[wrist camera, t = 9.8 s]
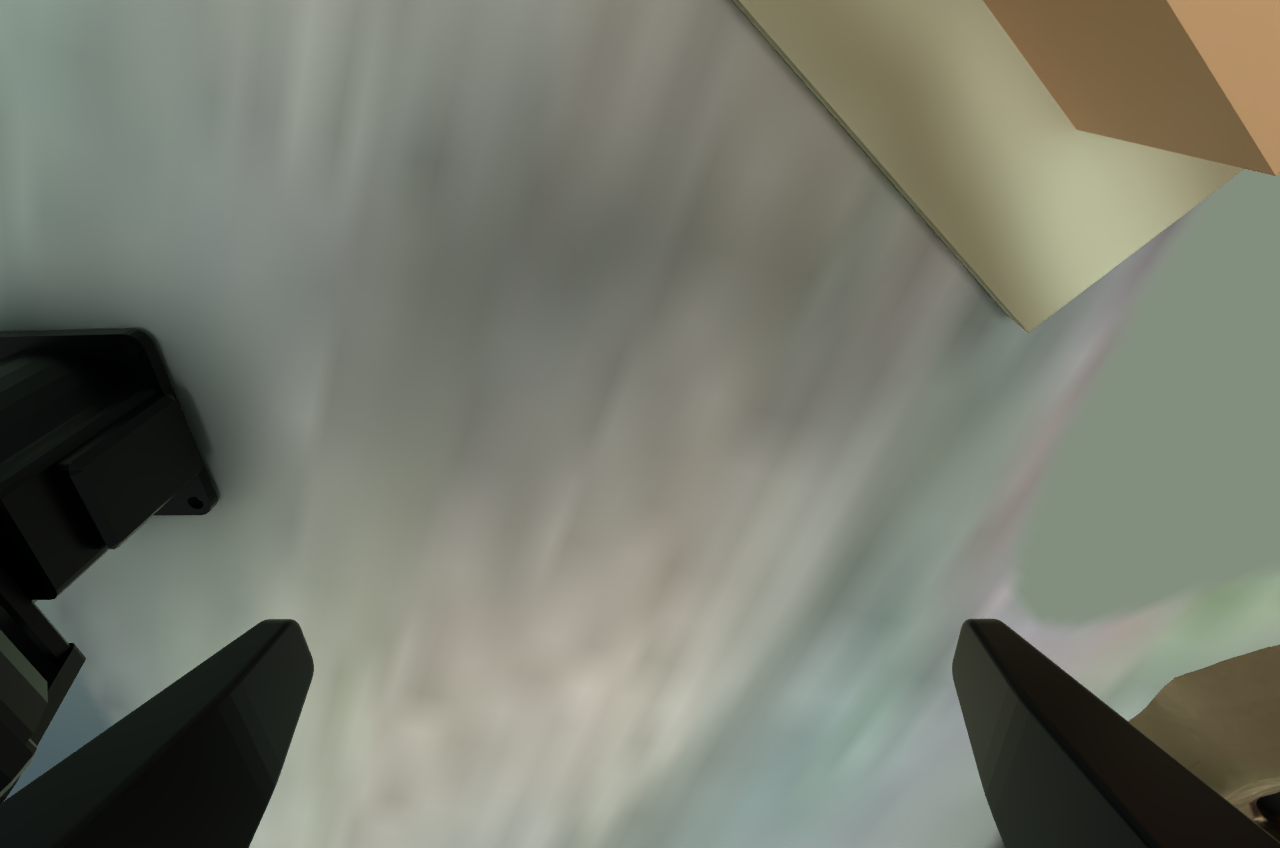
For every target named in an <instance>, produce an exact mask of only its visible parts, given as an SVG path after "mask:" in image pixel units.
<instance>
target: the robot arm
mask: <svg viewBox="0 0 1280 848" xmlns="http://www.w3.org/2000/svg"><path fill="white" fill-rule="evenodd" d="M130 343H131V344H133V345H134V346H135V347H136V349H137V350H138V352H137V351H135V350H134V349H132V347H131V346H130ZM196 497H197V498H199V499H200V500H201V501H200V500H198V499H197V498H196ZM217 501H218V499H217V495H216V492H215V490H214V488H213V485H212V483H211V480H210V478H209V475H208V473H207V471H206V468H205V466H204V463H203V461H202V459H201V456H200V454H199V451H198V449H197V447H196V444H195V442H194V439H193V437H192V434H191V432H190V430H189V427H188V425H187V422H186V420H185V418H184V415H183V413H182V410H181V408H180V405H179V403H178V401H177V398H176V396H175V393H174V391H173V389H172V386H171V384H170V381H169V379H168V376H167V374H166V372H165V369H164V367H163V364H162V362H161V360H160V357H159V355H158V352H157V350H156V347H155V345H154V343H153V342H152V340H151V338H150V337H148V336H147V335H146V334H145V333H143V332H141V331H139V330H135V329H110V330H69V331H27V332H0V848H249V846H250V843H251V841H252V839H253V837H254V834H255V832H256V830H257V828H258V826H259V823H260V821H261V819H262V817H263V814H264V812H265V810H266V808H267V805H268V803H269V801H270V798H271V796H272V794H273V791H274V789H275V787H276V784H277V781H278V778H279V776H280V773H281V770H282V768H283V765H284V762H285V759H286V756H287V753H288V750H289V747H290V744H291V741H292V738H293V735H294V732H295V729H296V726H297V723H298V720H299V717H300V714H301V711H302V708H303V705H304V702H305V699H306V696H307V693H308V690H309V687H310V684H311V681H312V677H313V672H314V664H313V659H312V656H311V653H310V651H309V648H308V646H307V643H306V640H305V638H304V635H303V633H302V630H301V627H300V625H299V624H298V623H297V622H296V621H295V620H292V619H268V620H264V621H262V622H260V623H259V624H257V625H256V626H254V627H253V628H251V629H250V630H248V631H247V632H246V633H244V634H243V635H241V636H240V637H238V638H237V639H236V640H234V641H233V642H231V643H230V644H228V645H227V646H226V647H224V648H223V649H221V650H220V651H218V652H217V653H216V654H214V655H213V656H211V657H210V658H208V659H207V660H206V661H204V662H203V663H201V664H200V665H198V666H197V667H196V668H194V669H193V670H191V671H190V672H188V673H187V674H186V675H184V676H183V677H181V678H180V679H178V680H177V681H176V682H174V683H173V684H171V685H170V686H168V687H167V688H166V689H164V690H163V691H161V692H160V693H158V694H157V695H156V696H154V697H153V698H151V699H150V700H148V701H147V702H146V703H144V704H143V705H141V706H140V707H138V708H137V709H136V710H134V711H133V712H131V713H130V714H128V715H127V716H126V717H124V718H123V719H121V720H120V721H118V722H117V723H116V724H114V725H113V726H111V727H110V728H108V729H107V730H106V731H104V732H103V733H101V734H100V735H99V736H97V737H96V738H94V739H93V740H91V741H90V742H88V743H87V744H86V745H84V746H83V747H81V748H80V749H78V750H77V751H76V752H74V753H73V754H71V755H70V756H68V757H67V758H66V759H64V760H63V761H61V762H60V763H58V764H57V765H56V766H54V767H53V768H51V769H50V770H49V771H47V772H46V773H44V774H43V775H41V776H40V777H38V778H37V779H36V780H34V781H33V782H31V783H30V784H28V785H27V786H25V787H24V788H23V789H21V790H20V791H18V792H17V793H15V794H14V795H13V796H11V797H10V798H8V799H7V800H5V799H6V797H7V795H8V794H9V793H10V791H11V790H12V788H13V787H14V785H15V784H16V782H17V781H18V779H19V777H20V775H21V774H22V772H23V771H24V770H25V769H26V768H27V766H28V765H29V764H30V763H31V760H32V758H33V756H34V754H35V752H36V749H37V745H38V744H39V742H40V740H41V738H42V736H43V734H44V733H45V731H46V729H47V727H48V726H49V724H50V722H51V720H52V718H53V717H54V715H55V713H56V711H57V710H58V708H59V706H60V704H61V703H62V701H63V699H64V697H65V695H66V694H67V692H68V690H69V688H70V687H71V685H72V683H73V681H74V679H75V678H76V676H77V674H78V672H79V670H80V669H81V667H82V665H83V663H84V662H85V659H86V658H85V656H84V655H83V654H82V653H81V652H80V650H79V649H78V648H77V647H76V646H75V644H74V643H68V642H67V641H66V640H65V639H64V638H63V637H62V635H61V634H60V633H59V632H58V631H57V629H56V628H55V627H54V626H53V625H52V624H51V622H50V621H49V620H48V619H47V618H46V616H45V615H44V614H43V613H42V612H41V610H40V609H39V608H38V607H37V606H36V605H35V602H36V601H37V600H51V599H55V598H56V597H57V596H59V595H60V594H61V593H62V592H63V591H64V590H65V589H66V588H67V587H68V586H69V585H71V584H72V583H73V582H74V581H75V580H76V579H77V578H78V577H79V576H80V575H82V574H83V573H84V572H85V571H86V570H87V569H88V568H89V567H90V566H91V565H92V564H94V563H95V562H96V561H97V560H98V559H99V558H100V557H101V556H102V555H103V554H105V553H106V552H107V551H108V550H109V549H116V548H118V547H119V546H120V545H121V544H122V543H124V542H125V541H126V540H127V539H128V538H129V537H130V536H131V535H132V534H133V533H134V532H135V531H137V530H138V529H139V528H140V527H141V526H142V525H143V524H144V523H145V522H146V521H147V520H148V519H150V518H151V517H152V516H153V515H204V514H207V513H208V512H209V511H210V510H211V509H212V508H213V507H214V506H215V505H216V504H217ZM952 674H953V680H954V684H955V688H956V691H957V695H958V699H959V702H960V706H961V710H962V713H963V717H964V721H965V724H966V728H967V732H968V735H969V739H970V743H971V746H972V750H973V754H974V757H975V761H976V765H977V768H978V772H979V776H980V779H981V782H982V786H983V789H984V792H985V796H986V799H987V801H988V804H989V807H990V810H991V812H992V815H993V818H994V820H995V823H996V825H997V828H998V831H999V833H1000V836H1001V838H1002V841H1003V843H1004V846H1005V848H1280V842H1279V841H1278V840H1276V839H1275V838H1274V837H1273V836H1271V835H1270V834H1269V833H1268V832H1266V831H1265V830H1264V829H1263V828H1261V827H1260V826H1259V825H1258V824H1256V823H1255V822H1254V821H1253V820H1251V819H1250V818H1249V817H1248V816H1246V815H1245V814H1244V813H1242V812H1241V811H1240V810H1239V809H1237V808H1236V807H1235V806H1234V805H1232V804H1231V803H1230V802H1229V801H1227V800H1226V799H1225V798H1224V797H1222V796H1221V795H1220V794H1219V793H1217V792H1216V791H1215V790H1214V789H1212V788H1211V787H1210V786H1208V785H1207V784H1206V783H1205V782H1203V781H1202V780H1201V779H1200V778H1198V777H1197V776H1196V775H1195V774H1193V773H1192V772H1191V771H1190V770H1188V769H1187V768H1186V767H1185V766H1183V765H1182V764H1181V763H1180V762H1178V761H1177V760H1176V759H1174V758H1173V757H1172V756H1171V755H1169V754H1168V753H1167V752H1166V751H1164V750H1163V749H1162V748H1161V747H1159V746H1158V745H1157V744H1156V743H1154V742H1153V741H1152V740H1151V739H1149V738H1148V737H1147V736H1146V735H1144V734H1143V733H1142V732H1140V731H1139V730H1138V729H1137V728H1135V727H1134V726H1133V725H1132V724H1130V723H1129V722H1128V721H1127V720H1125V719H1124V718H1123V717H1122V716H1120V715H1119V714H1118V713H1117V712H1115V711H1114V710H1113V709H1112V708H1110V707H1109V706H1108V705H1106V704H1105V703H1104V702H1103V701H1101V700H1100V699H1099V698H1098V697H1096V696H1095V695H1094V694H1093V693H1091V692H1090V691H1089V690H1088V689H1086V688H1085V687H1084V686H1083V685H1081V684H1080V683H1079V682H1078V681H1076V680H1075V679H1074V678H1072V677H1071V676H1070V675H1069V674H1067V673H1066V672H1065V671H1064V670H1062V669H1061V668H1060V667H1059V666H1057V665H1056V664H1055V663H1054V662H1052V661H1051V660H1050V659H1049V658H1047V657H1046V656H1045V655H1044V654H1042V653H1041V652H1040V651H1038V650H1037V649H1036V648H1035V647H1033V646H1032V645H1031V644H1030V643H1028V642H1027V641H1026V640H1025V639H1023V638H1022V637H1021V636H1020V635H1018V634H1017V633H1016V632H1015V631H1013V630H1012V629H1011V628H1010V627H1008V626H1007V625H1006V624H1004V623H1003V622H1001V621H999V620H997V619H968V620H966V621H965V622H964V623H963V625H962V627H961V631H960V635H959V639H958V643H957V647H956V651H955V655H954V659H953V664H952ZM4 800H5V801H4ZM3 801H4V802H3ZM2 802H3V803H2Z"/></svg>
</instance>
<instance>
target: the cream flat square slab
mask: <svg viewBox="0 0 1280 848" xmlns="http://www.w3.org/2000/svg"><path fill="white" fill-rule="evenodd" d="M733 2H734V3H735V4H736V5H737V6H738V7H739V8H740V10H741V11H742V12H743V13H744V14H745V15H746V16H747V18H748V19H749V20H750V21H751V22H752V23H753V24H754V26H755V27H756V28H757V29H758V30H759V31H760V32H761V34H762V35H763V36H764V37H765V38H766V39H767V40H768V42H769V43H770V44H771V45H772V46H773V47H774V48H775V50H776V51H777V52H778V53H779V54H780V55H781V56H782V58H783V59H784V60H785V61H786V62H787V63H788V64H789V66H790V67H791V68H792V69H793V70H794V71H795V72H796V74H797V75H798V76H799V77H800V78H801V79H802V80H803V82H804V83H805V84H806V85H807V86H808V87H809V88H810V90H811V91H812V92H813V93H814V94H815V95H816V96H817V98H818V99H819V100H820V101H821V102H822V103H823V104H824V106H825V107H826V108H827V109H828V110H829V111H830V113H831V114H832V115H833V116H834V117H835V118H836V119H837V121H838V122H839V123H840V124H841V125H842V126H843V127H844V129H845V130H846V131H847V132H848V133H849V134H850V135H851V137H852V138H853V139H854V140H855V141H856V142H857V143H858V145H859V146H860V147H861V148H862V149H863V150H864V151H865V153H866V154H867V155H868V156H869V157H870V158H871V159H872V161H873V162H874V163H875V164H876V165H877V166H878V167H879V169H880V170H881V171H882V172H883V173H884V174H885V175H886V177H887V178H888V179H889V180H890V181H891V182H892V183H893V185H894V186H895V187H896V188H897V189H898V190H899V191H900V193H901V194H902V195H903V196H904V197H905V198H906V199H907V201H908V202H909V203H910V204H911V205H912V206H913V207H914V209H915V210H916V211H917V212H918V213H919V214H920V215H921V217H922V218H923V219H924V220H925V221H926V222H927V223H928V225H929V226H930V227H931V228H932V229H933V230H934V231H935V233H936V234H937V235H938V236H939V237H940V238H941V239H942V241H943V242H944V243H945V244H946V245H947V246H948V247H949V249H950V250H951V251H952V252H953V253H954V254H955V255H956V257H957V258H958V259H959V260H960V261H961V262H962V263H963V265H964V266H965V267H966V268H967V269H968V270H969V271H970V273H971V274H972V275H973V276H974V277H975V278H976V279H977V281H978V282H979V283H980V284H981V285H982V286H983V288H984V289H985V290H986V291H987V292H988V293H989V294H990V296H991V297H992V298H993V299H994V300H995V301H996V302H997V304H998V305H999V306H1000V307H1001V308H1002V309H1003V310H1004V312H1005V313H1006V314H1007V315H1008V316H1009V317H1010V318H1011V319H1012V320H1014V321H1015V322H1016V323H1017V324H1018V325H1020V326H1021V327H1022V328H1023V329H1024V330H1026V331H1027V332H1028V333H1029V332H1030V331H1031V330H1033V329H1034V328H1035V327H1037V326H1038V325H1039V324H1041V323H1042V322H1043V321H1045V320H1046V319H1047V318H1049V317H1050V316H1051V315H1053V314H1054V313H1055V312H1057V311H1058V310H1059V309H1060V308H1062V307H1063V306H1064V305H1066V304H1067V303H1068V302H1070V301H1071V300H1072V299H1074V298H1075V297H1076V296H1078V295H1079V294H1080V293H1082V292H1083V291H1084V290H1085V289H1087V288H1088V287H1089V286H1091V285H1092V284H1093V283H1095V282H1096V281H1097V280H1099V279H1100V278H1101V277H1103V276H1104V275H1105V274H1107V273H1108V272H1109V271H1111V270H1112V269H1113V268H1114V267H1116V266H1117V265H1118V264H1120V263H1121V262H1122V261H1124V260H1125V259H1126V258H1128V257H1129V256H1130V255H1132V254H1133V253H1134V252H1136V251H1137V250H1138V249H1139V248H1141V247H1142V246H1143V245H1145V244H1146V243H1147V242H1149V241H1150V240H1151V239H1153V238H1154V237H1155V236H1157V235H1158V234H1159V233H1161V232H1162V231H1163V230H1165V229H1166V228H1167V227H1168V226H1170V225H1171V224H1172V223H1174V222H1175V221H1176V220H1178V219H1179V218H1180V217H1182V216H1183V215H1184V214H1186V213H1187V212H1188V211H1190V210H1191V209H1192V208H1194V207H1195V206H1196V205H1197V204H1199V203H1200V202H1201V201H1203V200H1204V199H1205V198H1207V197H1208V196H1209V195H1211V194H1212V193H1213V192H1215V191H1216V190H1217V189H1219V188H1220V187H1221V186H1222V185H1224V184H1225V183H1226V182H1228V181H1229V180H1230V179H1232V178H1233V177H1234V176H1236V175H1237V174H1238V173H1240V172H1241V171H1242V170H1244V168H1239V167H1235V166H1231V165H1226V164H1222V163H1218V162H1214V161H1209V160H1205V159H1201V158H1196V157H1192V156H1188V155H1183V154H1179V153H1175V152H1170V151H1166V150H1162V149H1157V148H1153V147H1149V146H1145V145H1140V144H1136V143H1132V142H1127V141H1123V140H1119V139H1114V138H1110V137H1106V136H1101V135H1097V134H1093V133H1089V132H1084V131H1080V130H1076V128H1075V127H1074V125H1073V124H1072V123H1071V121H1070V120H1069V119H1068V117H1067V116H1066V114H1065V113H1064V112H1063V110H1062V109H1061V107H1060V106H1059V105H1058V103H1057V102H1056V101H1055V99H1054V98H1053V96H1052V95H1051V94H1050V92H1049V91H1048V90H1047V88H1046V87H1045V85H1044V84H1043V83H1042V81H1041V80H1040V78H1039V77H1038V76H1037V74H1036V73H1035V72H1034V70H1033V69H1032V67H1031V66H1030V65H1029V63H1028V62H1027V61H1026V59H1025V58H1024V56H1023V55H1022V54H1021V52H1020V51H1019V50H1018V48H1017V47H1016V45H1015V44H1014V43H1013V41H1012V40H1011V38H1010V37H1009V36H1008V34H1007V33H1006V32H1005V30H1004V29H1003V27H1002V26H1001V25H1000V23H999V22H998V21H997V19H996V18H995V16H994V15H993V14H992V12H991V11H990V10H989V8H988V7H987V5H986V4H985V3H984V1H983V0H733Z"/></svg>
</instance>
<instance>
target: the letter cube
mask: <svg viewBox="0 0 1280 848" xmlns="http://www.w3.org/2000/svg"><path fill="white" fill-rule="evenodd" d="M983 1H984V3H985V4H986V5H987V7H988V8H989V10H990V11H991V12H992V14H993V15H994V16H995V18H996V19H997V21H998V22H999V23H1000V25H1001V26H1002V27H1003V29H1004V30H1005V32H1006V33H1007V34H1008V36H1009V37H1010V38H1011V40H1012V41H1013V43H1014V44H1015V45H1016V47H1017V48H1018V50H1019V51H1020V52H1021V54H1022V55H1023V56H1024V58H1025V59H1026V61H1027V62H1028V63H1029V65H1030V66H1031V67H1032V69H1033V70H1034V72H1035V73H1036V74H1037V76H1038V77H1039V78H1040V80H1041V81H1042V83H1043V84H1044V85H1045V87H1046V88H1047V90H1048V91H1049V92H1050V94H1051V95H1052V96H1053V98H1054V99H1055V101H1056V102H1057V103H1058V105H1059V106H1060V107H1061V109H1062V110H1063V112H1064V113H1065V114H1066V116H1067V117H1068V119H1069V120H1070V121H1071V123H1072V124H1073V125H1074V127H1075V128H1076V130H1080V131H1084V132H1089V133H1093V134H1097V135H1101V136H1106V137H1110V138H1114V139H1119V140H1123V141H1127V142H1132V143H1136V144H1140V145H1145V146H1149V147H1153V148H1157V149H1162V150H1166V151H1170V152H1175V153H1179V154H1183V155H1188V156H1192V157H1196V158H1201V159H1205V160H1209V161H1214V162H1218V163H1222V164H1226V165H1231V166H1235V167H1239V168H1244V169H1248V170H1252V171H1257V172H1261V173H1265V174H1270V175H1274V176H1277V175H1278V174H1279V173H1280V0H983Z"/></svg>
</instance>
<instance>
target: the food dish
mask: <svg viewBox="0 0 1280 848" xmlns="http://www.w3.org/2000/svg"><path fill="white" fill-rule="evenodd" d="M1128 722H1129V723H1130V724H1132V725H1133V726H1134V727H1135V728H1137V729H1138V730H1139V731H1140V732H1142V733H1143V734H1144V735H1146V736H1147V737H1148V738H1149V739H1151V740H1152V741H1153V742H1154V743H1156V744H1157V745H1158V746H1159V747H1161V748H1162V749H1163V750H1164V751H1166V752H1167V753H1168V754H1169V755H1171V756H1172V757H1173V758H1174V759H1176V760H1177V761H1178V762H1180V763H1181V764H1182V765H1183V766H1185V767H1186V768H1187V769H1188V770H1190V771H1191V772H1192V773H1193V774H1195V775H1196V776H1197V777H1198V778H1200V779H1201V780H1202V781H1203V782H1205V783H1206V784H1207V785H1208V786H1210V787H1211V788H1212V789H1214V790H1215V791H1216V792H1217V793H1219V794H1220V795H1221V796H1222V797H1224V798H1225V799H1226V800H1227V801H1229V802H1230V803H1231V804H1232V805H1234V806H1235V807H1236V808H1237V809H1239V810H1240V811H1241V812H1242V813H1244V814H1245V815H1246V816H1248V817H1249V818H1250V819H1251V820H1253V821H1254V822H1255V823H1256V824H1258V825H1259V826H1260V827H1261V828H1263V829H1264V830H1265V831H1266V832H1268V833H1269V834H1270V835H1271V836H1273V837H1274V838H1275V839H1276V840H1278V841H1279V842H1280V645H1277V646H1273V647H1267V648H1264V649H1260V650H1257V651H1254V652H1251V653H1248V654H1245V655H1241V656H1238V657H1234V658H1231V659H1228V660H1225V661H1222V662H1219V663H1216V664H1214V665H1211V666H1209V667H1206V668H1203V669H1200V670H1197V671H1194V672H1190V673H1187V674H1184V675H1182V676H1179V677H1175V678H1174V679H1173V680H1172V681H1171V682H1169V683H1168V684H1167V685H1166V686H1164V688H1163V689H1162V690H1161V691H1160V692H1159V693H1158V694H1157V695H1156V696H1155V698H1154V699H1153V700H1152V701H1151V702H1150V703H1149V705H1148V706H1147V707H1146V708H1145V709H1144V710H1143V711H1142V712H1141V713H1139V714H1138V715H1137V716H1135V717H1134V718H1132V719H1131V720H1130V721H1128Z"/></svg>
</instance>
